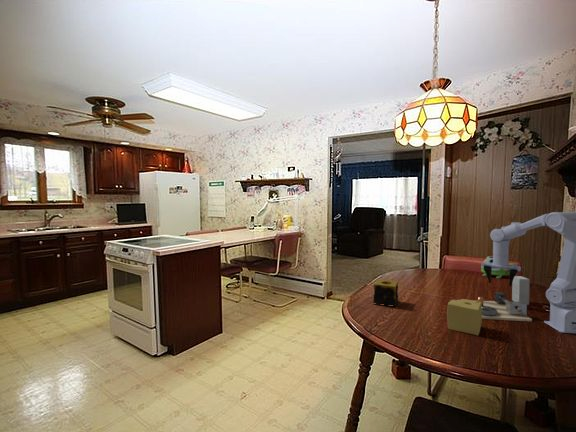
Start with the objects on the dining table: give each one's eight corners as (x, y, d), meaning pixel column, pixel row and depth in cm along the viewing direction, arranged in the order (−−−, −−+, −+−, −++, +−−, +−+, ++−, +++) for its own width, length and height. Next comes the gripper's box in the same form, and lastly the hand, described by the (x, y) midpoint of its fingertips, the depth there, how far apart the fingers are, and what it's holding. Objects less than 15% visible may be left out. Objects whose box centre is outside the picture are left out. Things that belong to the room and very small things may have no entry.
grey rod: (516, 311, 123) (517, 301, 122) (508, 311, 123) (509, 300, 123) (502, 301, 134) (502, 292, 134) (494, 301, 135) (495, 292, 134)
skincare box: (529, 305, 133) (530, 279, 132) (518, 304, 133) (519, 279, 133) (521, 300, 139) (522, 276, 138) (511, 300, 139) (512, 275, 139)
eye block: (526, 315, 118) (526, 304, 118) (510, 314, 120) (510, 303, 119) (522, 312, 121) (522, 301, 121) (506, 312, 123) (506, 301, 122)
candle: (373, 304, 137) (372, 284, 137) (377, 298, 146) (377, 278, 146) (395, 308, 133) (395, 286, 132) (398, 301, 141) (398, 281, 141)
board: (531, 321, 115) (531, 319, 115) (476, 318, 119) (476, 316, 119) (504, 303, 135) (504, 301, 135) (457, 301, 139) (457, 299, 139)
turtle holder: (515, 280, 171) (516, 261, 170) (479, 276, 183) (479, 257, 182) (517, 276, 180) (517, 257, 179) (482, 272, 192) (482, 254, 191)
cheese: (451, 320, 118) (452, 296, 118) (483, 327, 111) (483, 301, 111) (446, 329, 110) (446, 303, 110) (480, 337, 103) (480, 310, 103)
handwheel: (491, 308, 126) (491, 297, 126) (501, 316, 117) (501, 304, 117) (468, 307, 128) (468, 296, 128) (477, 315, 119) (477, 303, 119)
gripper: (480, 254, 134) (479, 282, 135) (519, 258, 124) (519, 289, 125) (483, 252, 139) (482, 279, 140) (521, 255, 129) (521, 285, 130)
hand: (500, 284), depth 133 cm, fingers open, 7 cm apart
